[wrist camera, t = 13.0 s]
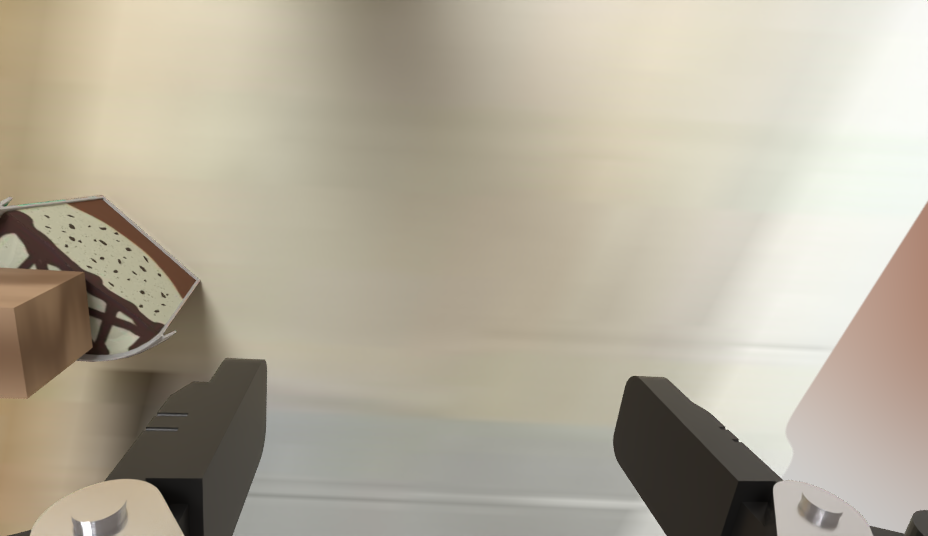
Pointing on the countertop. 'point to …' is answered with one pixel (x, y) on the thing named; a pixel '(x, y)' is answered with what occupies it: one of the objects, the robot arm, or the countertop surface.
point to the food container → (101, 268)
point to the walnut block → (40, 327)
